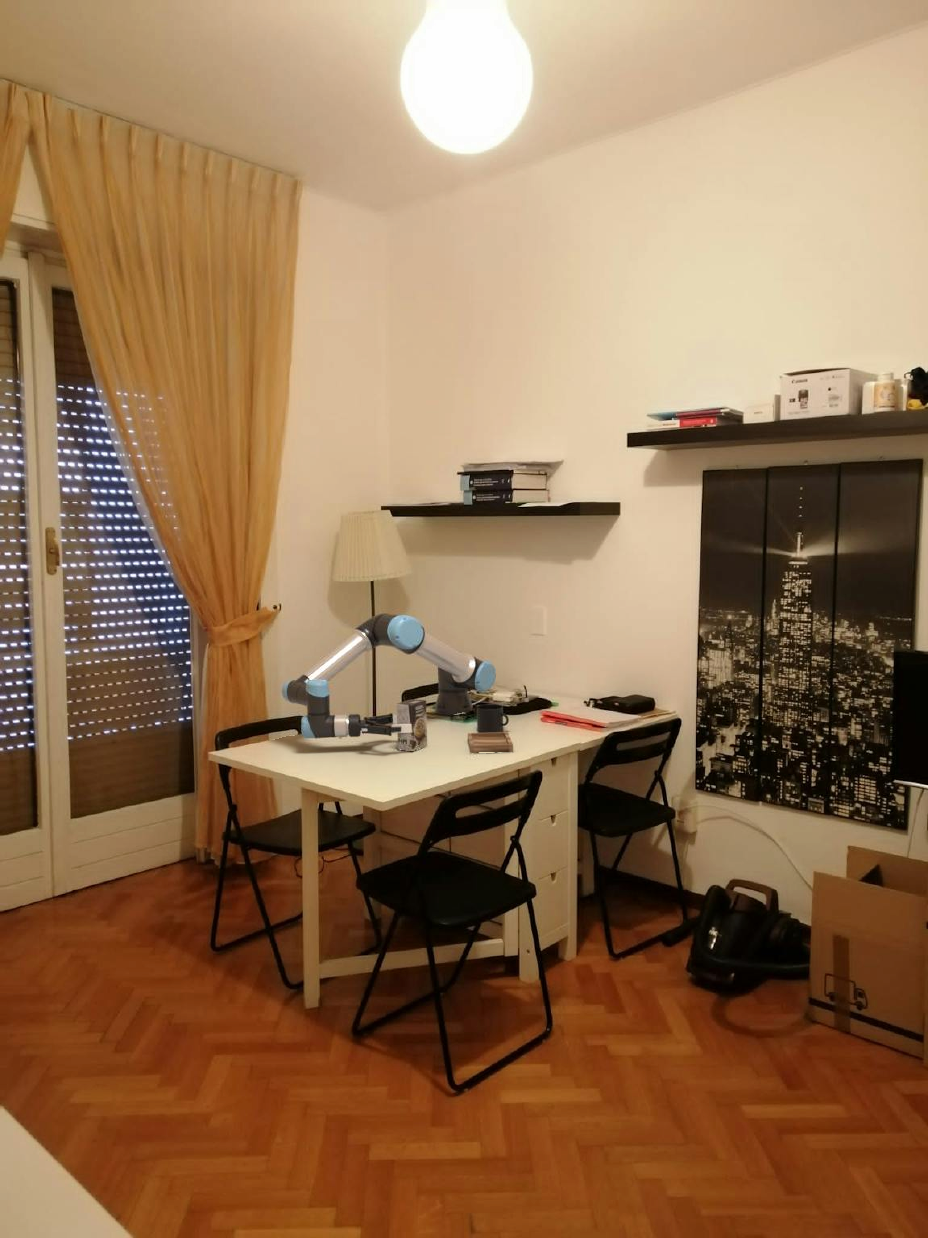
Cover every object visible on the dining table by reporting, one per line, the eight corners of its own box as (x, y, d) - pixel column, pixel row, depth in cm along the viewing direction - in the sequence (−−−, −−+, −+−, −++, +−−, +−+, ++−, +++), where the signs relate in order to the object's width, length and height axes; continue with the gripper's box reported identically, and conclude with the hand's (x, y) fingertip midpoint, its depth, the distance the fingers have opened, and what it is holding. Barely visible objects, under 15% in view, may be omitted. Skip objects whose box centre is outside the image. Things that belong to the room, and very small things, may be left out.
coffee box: (413, 752, 301) (411, 705, 299) (397, 750, 304) (395, 703, 302) (428, 746, 309) (426, 699, 307) (412, 744, 312) (411, 698, 310)
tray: (467, 740, 315) (467, 733, 315) (507, 739, 316) (507, 731, 316) (470, 754, 297) (470, 746, 297) (513, 752, 298) (513, 744, 298)
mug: (503, 736, 321) (502, 710, 320) (472, 733, 326) (472, 708, 325) (513, 730, 329) (513, 705, 328) (484, 727, 335) (483, 703, 334)
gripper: (351, 728, 317) (412, 725, 318) (345, 746, 292) (411, 743, 293) (350, 707, 316) (411, 704, 317) (344, 723, 291) (411, 721, 292)
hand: (411, 723), depth 305 cm, fingers open, 13 cm apart
